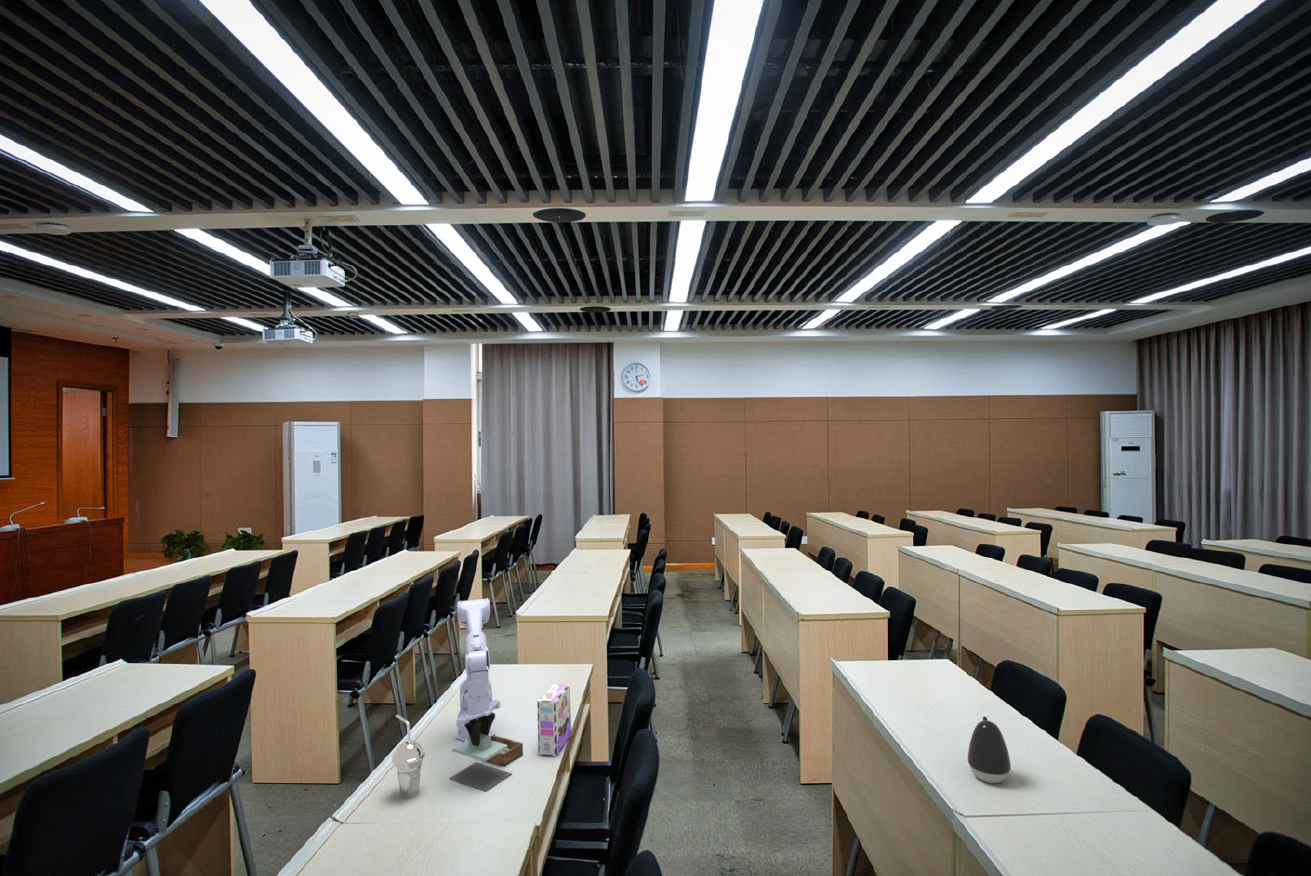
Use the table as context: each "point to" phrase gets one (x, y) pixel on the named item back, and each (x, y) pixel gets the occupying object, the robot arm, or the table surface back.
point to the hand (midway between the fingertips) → (479, 742)
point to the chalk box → (506, 751)
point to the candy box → (554, 720)
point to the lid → (480, 748)
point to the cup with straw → (408, 764)
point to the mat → (480, 776)
